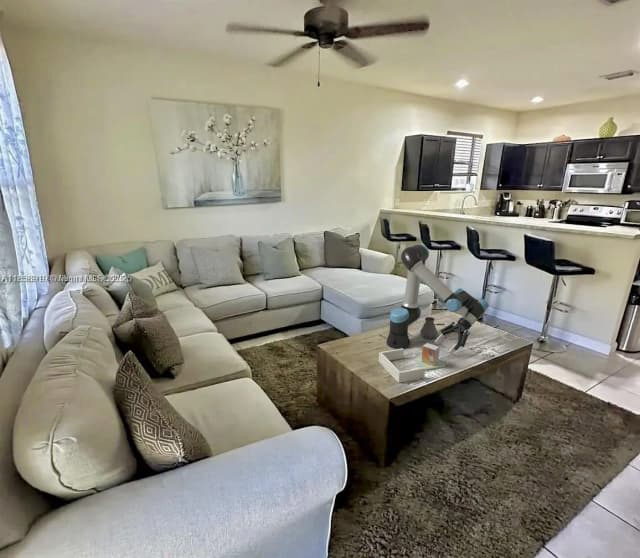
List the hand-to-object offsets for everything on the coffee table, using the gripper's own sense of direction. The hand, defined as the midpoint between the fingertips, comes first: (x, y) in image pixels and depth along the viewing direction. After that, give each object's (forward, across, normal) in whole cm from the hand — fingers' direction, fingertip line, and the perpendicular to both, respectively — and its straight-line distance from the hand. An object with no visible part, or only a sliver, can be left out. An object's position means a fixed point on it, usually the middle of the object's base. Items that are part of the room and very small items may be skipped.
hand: (442, 348), depth 209 cm
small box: (+12, 0, 0) cm, 12 cm away
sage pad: (+12, 0, -1) cm, 12 cm away
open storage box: (+26, 0, +13) cm, 29 cm away
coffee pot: (-2, +29, -16) cm, 33 cm away
